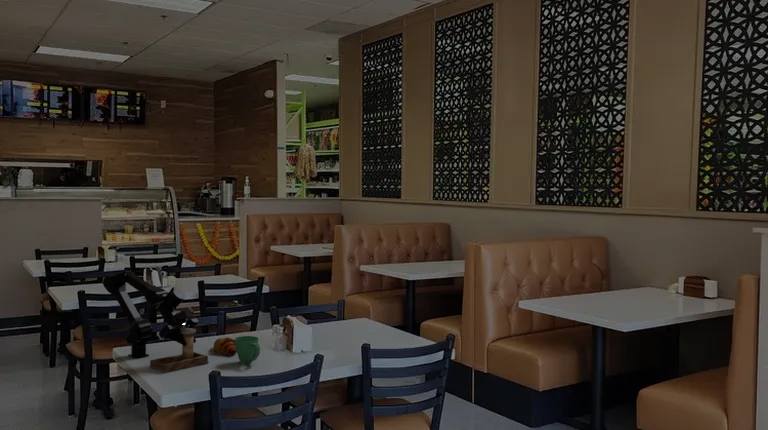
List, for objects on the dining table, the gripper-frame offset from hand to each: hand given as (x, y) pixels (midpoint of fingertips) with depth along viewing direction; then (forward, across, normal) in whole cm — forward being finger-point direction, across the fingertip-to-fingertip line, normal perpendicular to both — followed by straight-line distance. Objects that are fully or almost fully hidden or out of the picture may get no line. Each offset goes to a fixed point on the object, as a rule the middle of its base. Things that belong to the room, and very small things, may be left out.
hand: (190, 343), depth 270 cm
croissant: (+6, +25, +7) cm, 27 cm away
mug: (+20, +13, -8) cm, 25 cm away
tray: (+4, -3, +8) cm, 10 cm away
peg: (+4, 0, +6) cm, 8 cm away
